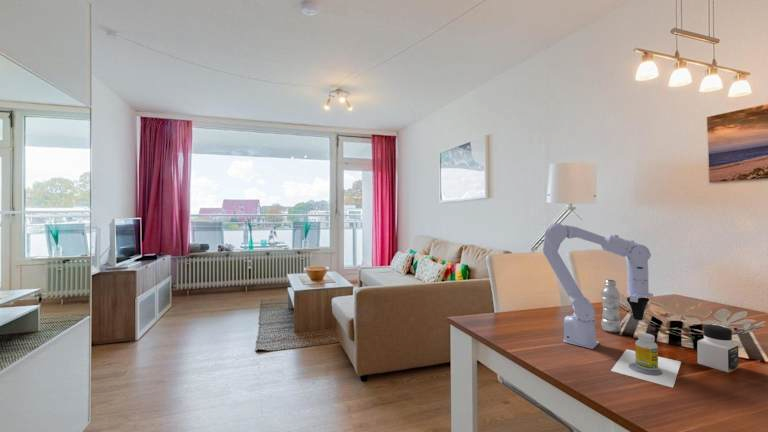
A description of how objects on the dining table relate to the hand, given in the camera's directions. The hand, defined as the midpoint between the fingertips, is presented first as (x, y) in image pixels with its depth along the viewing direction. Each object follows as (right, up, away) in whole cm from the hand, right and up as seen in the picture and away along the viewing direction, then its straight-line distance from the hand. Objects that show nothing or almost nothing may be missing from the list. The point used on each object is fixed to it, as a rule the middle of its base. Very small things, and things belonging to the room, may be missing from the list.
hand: (638, 319), depth 114 cm
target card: (-6, -11, -12) cm, 17 cm away
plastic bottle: (+3, -11, +18) cm, 21 cm away
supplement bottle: (-7, -11, -13) cm, 18 cm away
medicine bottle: (+15, -10, -12) cm, 22 cm away
